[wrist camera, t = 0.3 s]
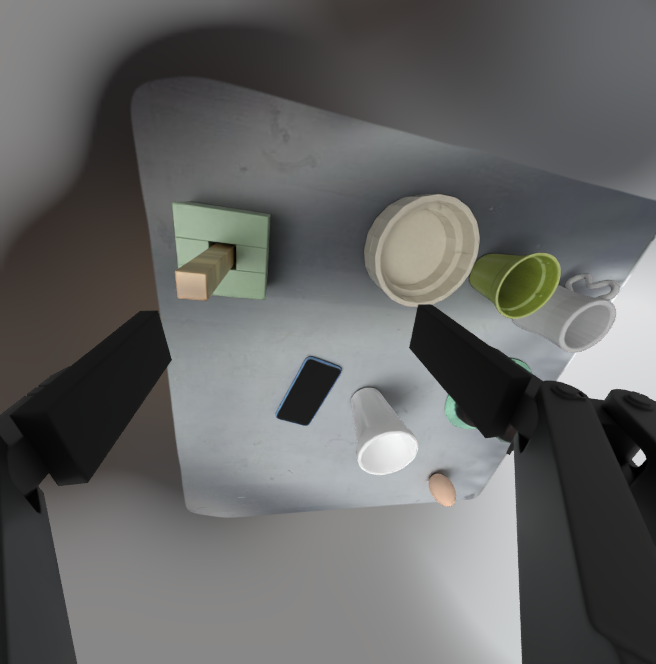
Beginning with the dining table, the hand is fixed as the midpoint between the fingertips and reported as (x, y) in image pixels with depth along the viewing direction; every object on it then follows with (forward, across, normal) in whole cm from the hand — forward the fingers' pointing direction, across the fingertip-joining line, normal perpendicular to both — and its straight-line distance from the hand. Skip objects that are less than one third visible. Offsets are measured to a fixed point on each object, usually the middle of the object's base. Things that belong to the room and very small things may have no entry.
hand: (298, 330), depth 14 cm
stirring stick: (+27, -8, 0) cm, 28 cm away
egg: (+27, +36, -57) cm, 73 cm away
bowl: (+27, +18, 0) cm, 32 cm away
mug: (+27, +45, -8) cm, 53 cm away
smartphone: (+27, +3, -26) cm, 38 cm away
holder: (+27, -8, 0) cm, 28 cm away
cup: (+27, +14, -29) cm, 42 cm away
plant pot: (+27, +33, -4) cm, 42 cm away
